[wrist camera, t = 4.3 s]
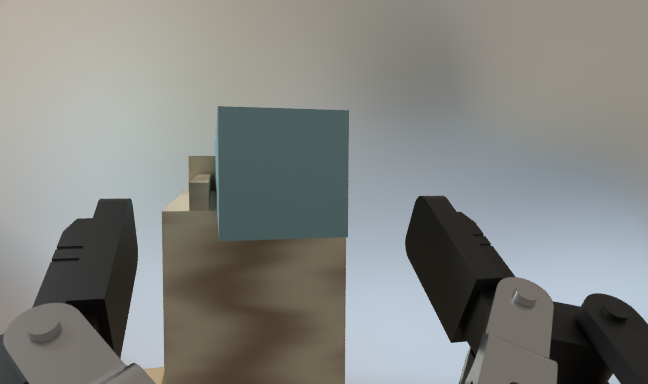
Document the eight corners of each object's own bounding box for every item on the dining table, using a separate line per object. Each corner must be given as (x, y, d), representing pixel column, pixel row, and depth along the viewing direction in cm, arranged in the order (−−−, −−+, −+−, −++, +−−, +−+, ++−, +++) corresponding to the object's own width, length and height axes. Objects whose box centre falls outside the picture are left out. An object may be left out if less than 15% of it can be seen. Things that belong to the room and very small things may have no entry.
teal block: (219, 241, 12) (217, 106, 12) (215, 191, 34) (215, 141, 34) (347, 236, 13) (348, 110, 13) (264, 190, 35) (264, 142, 34)
